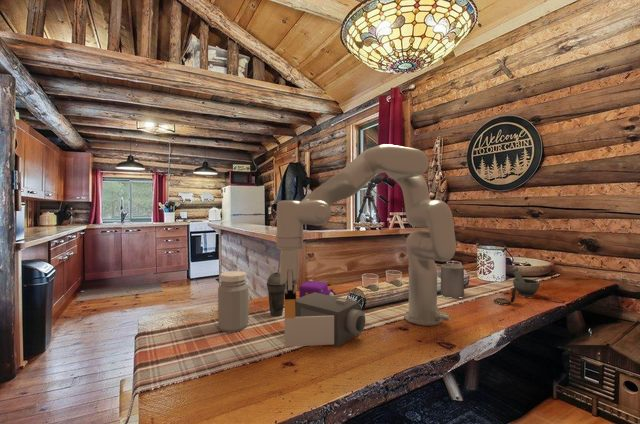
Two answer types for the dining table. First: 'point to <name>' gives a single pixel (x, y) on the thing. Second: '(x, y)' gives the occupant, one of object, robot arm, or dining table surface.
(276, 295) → the beverage cup
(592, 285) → the dining table surface
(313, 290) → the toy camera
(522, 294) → the mortar and pestle
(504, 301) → the compass
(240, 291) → the jar
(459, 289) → the grey canister
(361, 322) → the camera body
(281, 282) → the robot arm
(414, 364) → the dining table surface
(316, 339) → the door
